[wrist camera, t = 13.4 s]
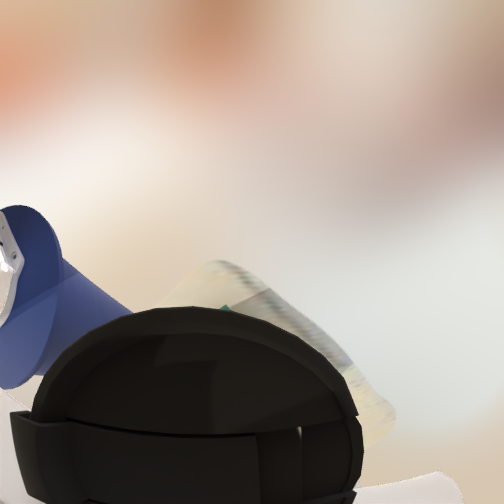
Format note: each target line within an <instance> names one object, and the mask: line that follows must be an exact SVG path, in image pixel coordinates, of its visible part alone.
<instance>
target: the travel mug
mask: <svg viewBox="0 0 504 504" xmlns="http://www.w3.org/2000/svg"><path fill="white" fill-rule="evenodd" d="M9 415H10V423H11V430H12V437H13V442H14V448H15V453H16V457H17V461H18V465H19V469H20V473H21V476H22V480H23V483H24V486H25V489H26V492H27V494H28V495H29V496H31V497H33V498H35V499H37V500H39V501H41V502H43V503H46V504H353V502H354V500H355V497H356V495H357V492H355V491H354V490H353V488H354V487H355V485H356V483H357V481H358V479H359V478H360V476H361V470H362V462H363V455H364V446H363V436H362V427H361V425H360V423H359V421H358V420H357V418H356V417H355V416H358V415H359V414H358V411H357V409H356V406H355V404H354V401H353V399H352V396H351V394H350V391H349V389H348V386H347V384H346V382H345V379H344V377H343V376H342V375H341V374H340V373H339V372H338V371H337V370H336V369H335V368H334V367H333V365H332V364H331V363H330V362H329V361H328V360H327V359H326V358H325V357H324V356H323V355H322V354H321V353H319V352H318V351H317V350H315V349H314V348H312V347H311V346H310V345H308V344H307V343H306V342H304V341H303V340H302V339H300V338H299V337H298V336H296V335H294V334H291V333H289V332H287V331H285V330H283V329H281V328H279V327H277V326H275V325H273V324H271V323H269V322H267V321H264V320H261V319H257V318H254V317H250V316H247V315H244V314H240V313H237V312H233V311H229V310H220V309H212V308H203V307H195V306H189V307H171V308H154V309H150V310H146V311H142V312H138V313H134V314H129V315H125V316H121V317H118V318H116V319H114V320H112V321H110V322H108V323H105V324H103V325H101V326H99V327H97V328H95V329H92V330H90V331H89V332H87V333H86V334H85V335H83V336H82V337H81V338H79V339H78V340H77V341H75V342H74V343H73V344H72V345H70V346H69V347H68V348H66V349H65V350H64V351H63V352H62V353H61V355H60V356H59V357H58V358H57V360H56V361H55V362H54V363H53V365H52V366H51V367H50V368H49V370H48V371H47V372H46V374H45V375H44V377H43V380H42V382H41V384H40V386H39V388H38V391H37V393H36V395H35V398H34V402H33V406H32V411H31V412H30V411H27V410H25V411H16V412H10V413H9Z"/></svg>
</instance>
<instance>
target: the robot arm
mask: <svg viewBox="0 0 504 504" xmlns="http://www.w3.org/2000/svg"><path fill="white" fill-rule="evenodd" d="M23 266H24V257H23V255H22V253H21V251H20V249H19V247H18V245H17V243H16V241H15V238H14V236H13V234H12V232H11V229H10V227H9V225H8V222H7V220H6V217H5V215H4V213H3V212H1V211H0V327H1V326H2V325H3V324H4V323H5V321H6V320H7V318H8V316H9V314H10V312H11V309H12V306H13V303H14V299H15V295H16V288H17V282H18V278H19V276H20V273H21V271H22V269H23ZM25 410H27V411H30V412H31V410H30V409H29V408H27V407H25V406H24V405H23V404H21V403H20V402H19V401H17V400H16V399H14V398H13V397H12V396H11V395H9V394H8V393H7V392H6V391H4V390H3V389H2V388H1V387H0V504H46V503H43V502H41V501H39V500H37V499H35V498H33V497H31V496H29V495H28V494H27V492H26V489H25V486H24V483H23V480H22V476H21V473H20V469H19V465H18V461H17V457H16V453H15V448H14V442H13V437H12V430H11V423H10V415H9V413H10V412H16V411H25ZM353 490H354V491H355V492H357V495H356V497H355V500H354V502H353V504H464V502H463V498H462V494H461V491H460V488H459V486H458V484H457V483H456V482H455V481H454V480H452V479H451V478H450V477H448V476H447V475H445V474H444V473H442V472H440V471H436V472H432V473H429V474H425V475H422V476H418V477H414V478H410V479H406V480H402V481H398V482H392V483H387V484H382V485H377V486H370V487H363V488H360V484H359V479H358V481H357V483H356V485H355V487H354V488H353Z"/></svg>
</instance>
